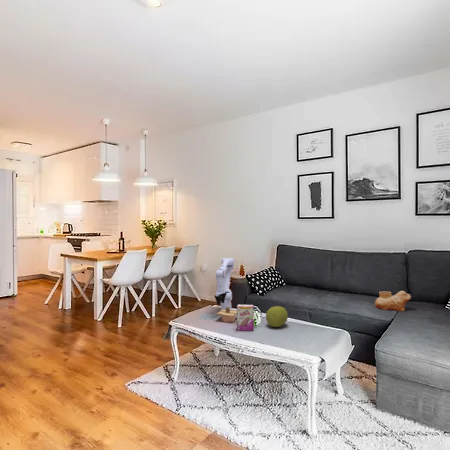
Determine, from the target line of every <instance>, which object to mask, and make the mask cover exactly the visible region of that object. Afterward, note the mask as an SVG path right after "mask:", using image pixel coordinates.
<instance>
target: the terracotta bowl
mask: <svg viewBox="0 0 450 450" xmlns="http://www.w3.org/2000/svg"><path fill="white" fill-rule="evenodd" d="M221 320H222V322H224V323H225V322H226V323H231V322H232V323H233V322H235V321H236V315H235V316H234V317H228V316H222V317H221Z"/></svg>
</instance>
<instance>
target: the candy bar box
mask: <svg viewBox="0 0 450 450" xmlns="http://www.w3.org/2000/svg"><path fill="white" fill-rule="evenodd" d="M254 310H255V307H254V304H237V306H236V311H237V314H236V331H238V332H239V331H240V332H241V331H243V332H244V331H247V332H254V328H255V327H254V325H255V324H254V322H255V321H254V320H255V319H254V317H255V316H254V313H255V311H254Z"/></svg>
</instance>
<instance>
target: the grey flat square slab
mask: <svg viewBox="0 0 450 450" xmlns="http://www.w3.org/2000/svg"><path fill="white" fill-rule="evenodd" d="M216 314H217V313H211V312H210V313H209V312H204V313H203V314H201V315H200V316H198V317H196V318H195V319H196V320H197V319H198V320H204V321H206V320H207V321H213V322H214V321H215V322H216V321H218V320H219V319H220V318H222V316H219V315H216Z"/></svg>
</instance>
